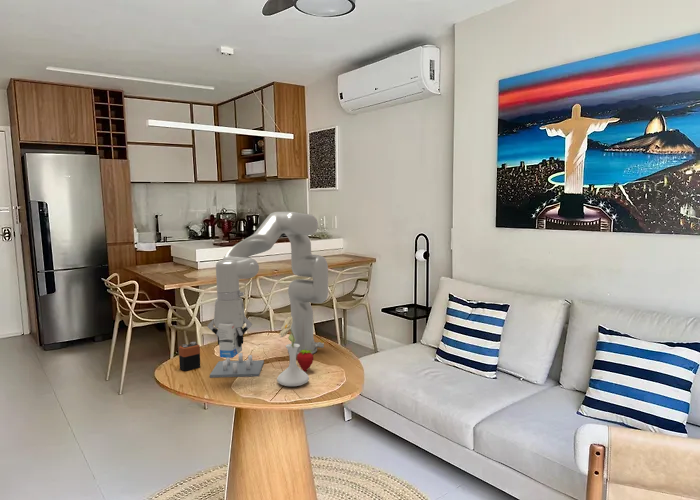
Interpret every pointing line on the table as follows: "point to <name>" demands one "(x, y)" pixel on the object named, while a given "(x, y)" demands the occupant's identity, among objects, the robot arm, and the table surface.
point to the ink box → (228, 340)
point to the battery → (189, 356)
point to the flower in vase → (291, 361)
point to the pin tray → (238, 367)
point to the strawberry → (305, 359)
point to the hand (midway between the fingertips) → (230, 345)
